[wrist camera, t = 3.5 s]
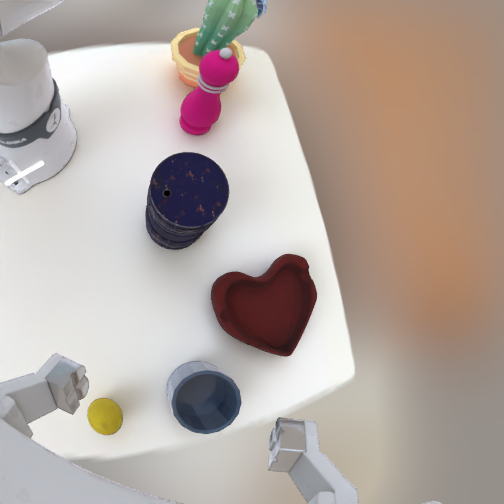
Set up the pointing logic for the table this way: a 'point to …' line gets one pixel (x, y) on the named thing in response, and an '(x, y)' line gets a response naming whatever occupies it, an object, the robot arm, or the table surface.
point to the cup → (203, 397)
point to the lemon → (105, 416)
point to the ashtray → (267, 305)
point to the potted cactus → (214, 35)
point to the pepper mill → (208, 91)
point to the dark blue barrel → (184, 199)
